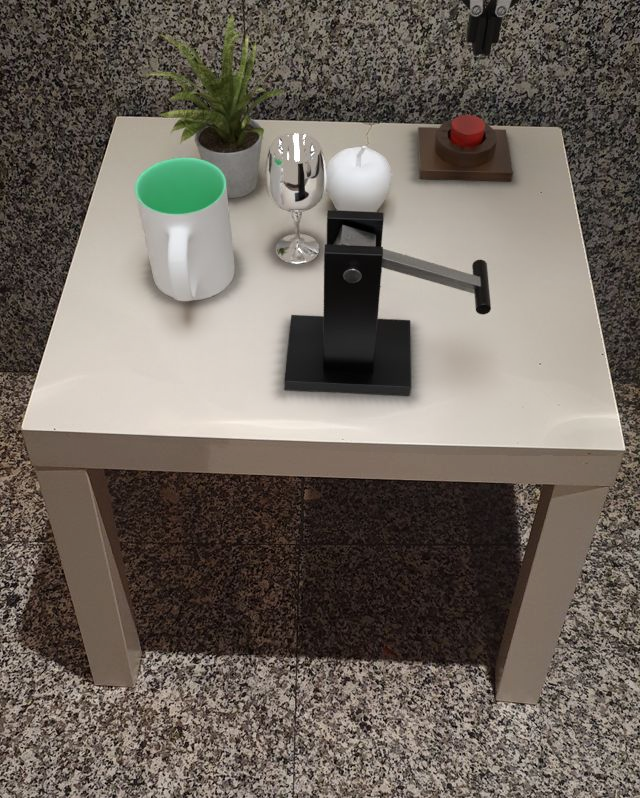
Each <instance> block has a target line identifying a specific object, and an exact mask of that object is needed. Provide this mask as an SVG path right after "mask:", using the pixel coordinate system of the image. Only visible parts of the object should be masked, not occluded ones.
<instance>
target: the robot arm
mask: <svg viewBox="0 0 640 798" xmlns="http://www.w3.org/2000/svg"><path fill="white" fill-rule="evenodd" d="M460 1H461V2H462V4H464V5H465V7H466V8H467V9H468V10H469V14H468V22H467V27H466V43H467V44H471V47H472V54H473V56H474V57H479V56H480V55H483V56H484V57H491V52H492V46H493V44H499V39H500V34H501V27H502V23H503V17H505V16H507V14H508V12H509V10H510V9H512V8H513V7H514V6H515V5H516V4H517V3H519V2H520V1H521V0H489V1H488V3H487V4H485V0H460Z"/></svg>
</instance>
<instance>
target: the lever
mask: <svg viewBox="0 0 640 798" xmlns="http://www.w3.org/2000/svg"><path fill="white" fill-rule="evenodd" d="M334 245H354V246H376V234H372V233H369V232H366V231H362V230H359V229H355V228H352V227H349V226H345V225H342V227H341V229H340V231H339V234H338V236H337V238H336V240H335V243H334ZM471 268H472V269H471V270H472V273H468V272H465V271H461V270H458V269H454V268H452V267H451V268H450V267H447V266H445V265H444V266H443V265H441V264H437V263H434V262H430V261H426V260H423V259H420V258H418V257H417V258H416V257H413V256H410V255H407V254H403V253H399V252H396V251H393V250H389V249H385V248H383V260H382V269H386V270H390V271H393V272H397V273H400V274H404V275H407V276H411V277H414V278H417V279H421V280H424V281H428V282H432V283H435V284H439V285H442V286H446V287H449V288H451V289H452V288H453V289H456V290H458V291H459V290H460V291H463V292H466V293H470V294H473V295H474V305H475V308H474V309H475V312H476V313H477V314H479V315H487V314H488V313H490V312H491V310H492V303H491V293H490V283H489V273H488V271H489V270H488V263H487V262H486V260H484V259H477V260H475V261H473V262H472V265H471Z"/></svg>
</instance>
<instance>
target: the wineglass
mask: <svg viewBox="0 0 640 798" xmlns="http://www.w3.org/2000/svg"><path fill="white" fill-rule="evenodd" d="M326 166H327V164H326V160H325V156H324V153H323V149H322V146H321V144H320V142H319V140H318V139H316V138H315V137H313V136H312V135H309V134H307V133H302V132H289V133H285V134H282V135H280V136H277V137H275V138H274V139H273V140H272V141H271V143H270V145H269V148H268V153H267V156H266V161H265V167H264V168H265V169H264V184H265V189H266V192H267V195H268V197H269V199H270V201H271V202H272V203H273V204H274V205H275V206H276V207H278V208H279V209H281V210H283V211H287V212H289V213H290V212H291V218H292V221H293V224H294V233H292V234H288V235H285V236H283V237H282V238H281V239H279V240H278V242H277V243H276V245H275V253H276V255H277V257H278V258H279V259H280V260H282V261H283V262H285V263H288V264H292V265H302V264H307V263H309V262H312V261H314V260H315V259H316V258H318V256H319V253H320V244H319V242H318V241H317V240H316V239H315V238H314V237H312V236H310V235H308V234H304V233H301V232H300V223H301V219H302V216H303V212H306V211H307V212H308V211H309V210H312V209H314V208H315V207H316V206H317V205H318V204H319V203H320V202H321V200H322V199H323V197H324V195H325V193H326V184H327V173H326Z"/></svg>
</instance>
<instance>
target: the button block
mask: <svg viewBox="0 0 640 798" xmlns="http://www.w3.org/2000/svg"><path fill="white" fill-rule="evenodd" d="M454 119H455V118H453V119H450V120H449V119H448V120H446V121H444V122H443V123H442V124H440V126H439V127H423V126H419V127H417V150H418V151H417V152H418V170H419V171H418V172H419V174H418V175H419V179H420V180H446V181H447V180H449V181H482V182H483V181H484V182H511V181H512V179H513V175H514V171H513V165H512V159H511V158H512V157H511V153H510V146H509V141H508V133H507V129H502V128H501V129H498V128H492V126H491V125H489V124H488V123H487V122H484V123H485V130H484V135H483V141H482V142H481V144H479V145H477V146H474V147H464V146H460V145H457V144H455V143H453V142H452V141H451V139H450V132H451V125H452V121H453V120H454Z"/></svg>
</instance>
